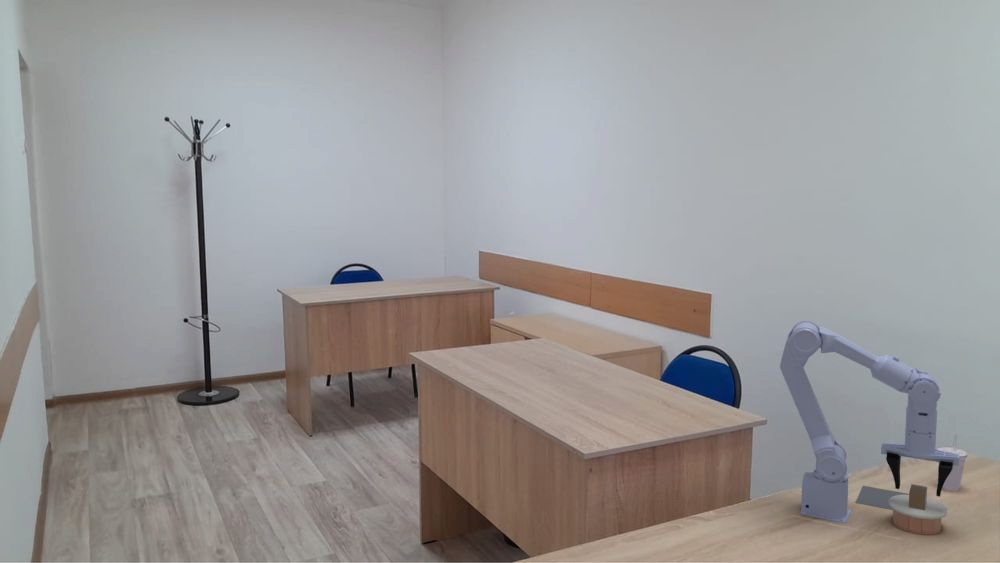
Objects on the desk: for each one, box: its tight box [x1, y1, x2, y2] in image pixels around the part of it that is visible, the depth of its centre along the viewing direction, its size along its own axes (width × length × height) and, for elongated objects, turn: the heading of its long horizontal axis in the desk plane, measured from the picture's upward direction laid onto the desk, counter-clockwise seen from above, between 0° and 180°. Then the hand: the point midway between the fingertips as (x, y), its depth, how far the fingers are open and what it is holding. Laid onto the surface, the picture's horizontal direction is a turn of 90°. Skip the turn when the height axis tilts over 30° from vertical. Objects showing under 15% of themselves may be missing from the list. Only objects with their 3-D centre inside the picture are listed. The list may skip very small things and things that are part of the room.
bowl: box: [892, 510, 943, 535], centre depth 158 cm, size 9×9×4 cm
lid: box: [889, 483, 948, 519], centre depth 158 cm, size 11×11×4 cm
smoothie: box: [936, 433, 968, 492], centre depth 177 cm, size 6×6×14 cm
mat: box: [855, 485, 909, 511], centre depth 172 cm, size 12×12×1 cm
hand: (917, 491), depth 157 cm, fingers open, 7 cm apart
